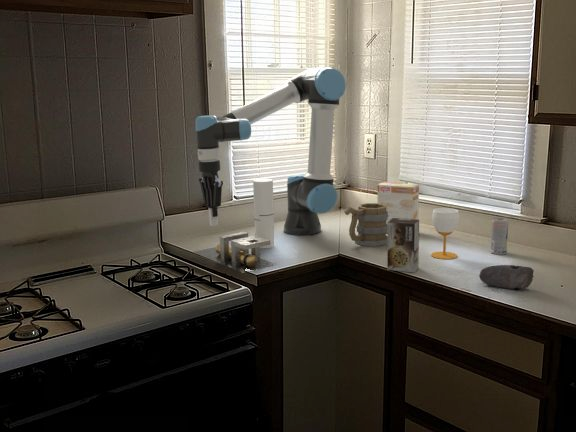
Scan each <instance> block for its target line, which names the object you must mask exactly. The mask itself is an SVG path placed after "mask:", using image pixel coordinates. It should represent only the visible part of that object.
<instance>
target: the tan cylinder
mask: <svg viewBox="0 0 576 432" xmlns="http://www.w3.org/2000/svg"><path fill="white" fill-rule="evenodd" d="M215 247H216V253H217V254H219V255H221V254H220V243H218V244H217V245H216V246H215ZM240 257H241V263H242V264H244V265H246V266H249V267H254V266H255V265H256V263H257V257H256V256H254V255H252V254H251V253H250V252H249V253H246V252H244V251H241V250H240ZM229 259H232V257H231V245H229Z"/></svg>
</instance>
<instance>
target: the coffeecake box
mask: <svg viewBox="0 0 576 432" xmlns="http://www.w3.org/2000/svg"><path fill="white" fill-rule="evenodd" d="M376 195H377V197H376V198H377V202H376V203H378V204H384V205H386V211H388V219H387V220H386V224H387V222H389V221H390V220H391V219H392V218H401V219H415V220H419V205H420V204H419V198H420V184H418V183H417V184H416V183H403V182H402V183H401V182H391V181H383V182H380V183H378V184H377V194H376ZM386 234H388V230H387V233H386Z"/></svg>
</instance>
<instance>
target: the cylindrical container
mask: <svg viewBox="0 0 576 432" xmlns="http://www.w3.org/2000/svg"><path fill="white" fill-rule="evenodd" d="M252 183H253V184H252V186H253V213H254V214H253V215H254V216H253V218H254V220H253V221H254V222H253V223H254V236H259V237H262V238H265V239H268V240H270V245H266V246H261V247H260V249H269V248H273V247H275V220H274V219H275V218H274V217H275V216H274V215H275V214H274V213H275V211H274V180H273V179H271V178H256V179H253V180H252Z"/></svg>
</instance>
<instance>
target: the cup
mask: <svg viewBox="0 0 576 432" xmlns="http://www.w3.org/2000/svg"><path fill="white" fill-rule="evenodd" d="M459 212H460V211H459V210H458V209H456V208H451V207H450V208H449V207H439V208H438V207H437V208H434V209H433V210H432V215H431V216H432V224H433V228H434V229H435V231H436V232H437V233H438V235H441V236H442V237H443V242H442V243H443V244H442V245H443V247H442V251H435V252H432V253H431V254H430V255H431V257H432V258H433V259H439V260H455V259H456V258H458V257H459V255H458V254H456V253H455V252H451V251H447V249H446V248H447V245H446V244H447V237H448V236H450V235H452V234H453V233H454V232H455V231H456V229H457V228H458V224H459V220H460V214H459Z"/></svg>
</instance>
